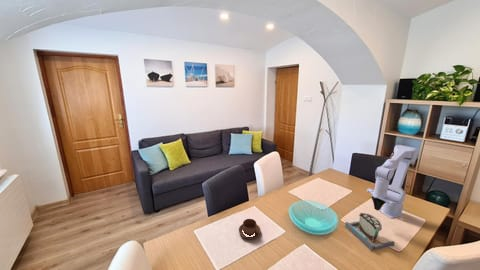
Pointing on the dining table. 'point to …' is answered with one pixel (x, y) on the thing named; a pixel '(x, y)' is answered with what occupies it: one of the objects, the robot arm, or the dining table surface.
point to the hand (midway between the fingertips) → (377, 209)
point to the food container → (369, 226)
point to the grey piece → (364, 240)
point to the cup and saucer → (249, 229)
